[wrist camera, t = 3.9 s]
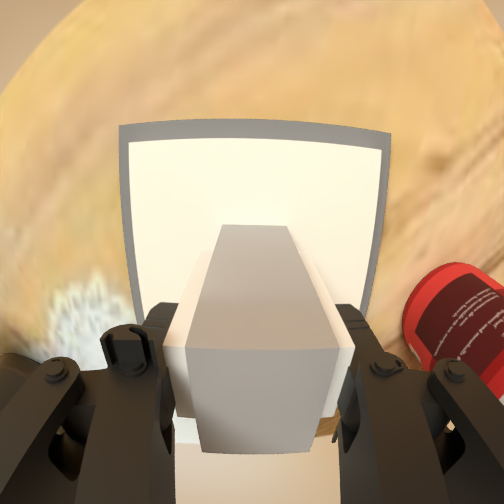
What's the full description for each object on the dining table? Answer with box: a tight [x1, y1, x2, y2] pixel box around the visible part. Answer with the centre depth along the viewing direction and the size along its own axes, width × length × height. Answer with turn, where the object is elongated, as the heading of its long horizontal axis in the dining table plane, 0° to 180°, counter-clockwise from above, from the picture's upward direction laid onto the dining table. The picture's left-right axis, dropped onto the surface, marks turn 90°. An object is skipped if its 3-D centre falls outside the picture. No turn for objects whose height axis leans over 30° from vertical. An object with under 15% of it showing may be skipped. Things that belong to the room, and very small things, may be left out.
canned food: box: [402, 262, 504, 405], centre depth 13 cm, size 8×8×11 cm
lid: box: [129, 138, 382, 454], centre depth 11 cm, size 12×12×10 cm
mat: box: [119, 119, 391, 326], centre depth 16 cm, size 14×14×1 cm
